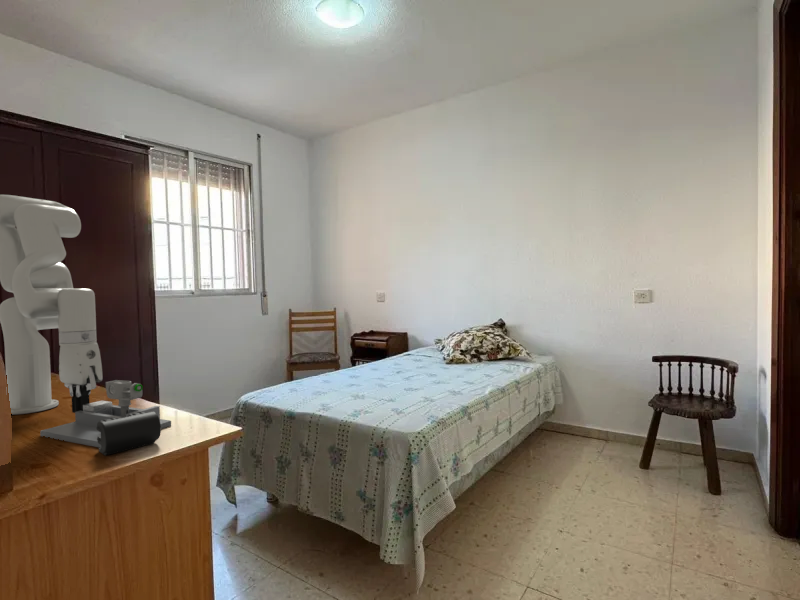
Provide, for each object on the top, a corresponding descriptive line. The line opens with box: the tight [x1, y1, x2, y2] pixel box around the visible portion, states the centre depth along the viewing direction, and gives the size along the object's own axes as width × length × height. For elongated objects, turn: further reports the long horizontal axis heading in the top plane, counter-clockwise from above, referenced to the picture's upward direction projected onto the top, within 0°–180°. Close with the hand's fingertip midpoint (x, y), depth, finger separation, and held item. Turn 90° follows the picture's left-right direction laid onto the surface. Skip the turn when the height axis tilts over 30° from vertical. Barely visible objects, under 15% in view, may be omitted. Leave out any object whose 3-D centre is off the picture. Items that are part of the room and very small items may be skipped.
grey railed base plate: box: [39, 404, 172, 449], centre depth 102 cm, size 22×16×5 cm
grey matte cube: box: [83, 400, 113, 415], centre depth 107 cm, size 4×4×4 cm
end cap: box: [96, 412, 162, 456], centre depth 91 cm, size 10×7×7 cm
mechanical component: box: [105, 379, 144, 417], centre depth 103 cm, size 3×10×10 cm, turn 68°
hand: (81, 411), depth 109 cm, fingers closed
